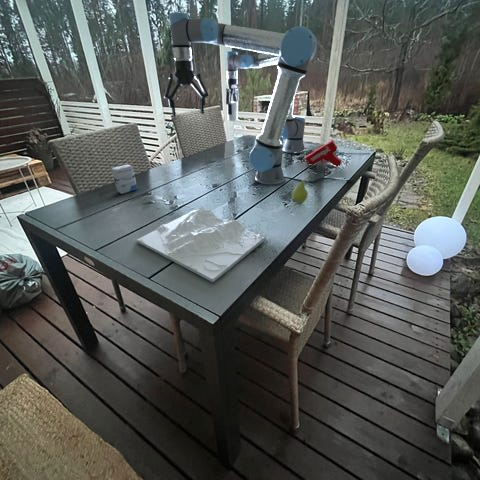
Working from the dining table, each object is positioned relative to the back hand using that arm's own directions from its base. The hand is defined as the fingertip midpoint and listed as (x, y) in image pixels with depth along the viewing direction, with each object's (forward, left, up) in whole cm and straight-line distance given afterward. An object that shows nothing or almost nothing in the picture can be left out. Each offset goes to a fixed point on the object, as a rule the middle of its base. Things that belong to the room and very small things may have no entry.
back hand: (232, 113), depth 202 cm
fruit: (-3, +114, -22) cm, 116 cm away
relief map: (+44, +135, -22) cm, 144 cm away
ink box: (+73, +79, -22) cm, 110 cm away
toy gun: (-38, +71, -22) cm, 83 cm away
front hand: (+39, +75, +11) cm, 85 cm away
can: (0, 0, -4) cm, 4 cm away
